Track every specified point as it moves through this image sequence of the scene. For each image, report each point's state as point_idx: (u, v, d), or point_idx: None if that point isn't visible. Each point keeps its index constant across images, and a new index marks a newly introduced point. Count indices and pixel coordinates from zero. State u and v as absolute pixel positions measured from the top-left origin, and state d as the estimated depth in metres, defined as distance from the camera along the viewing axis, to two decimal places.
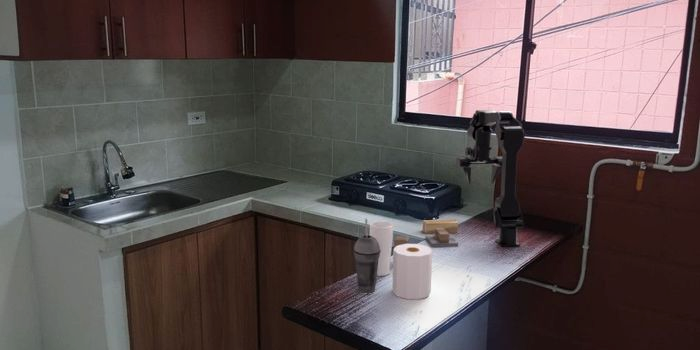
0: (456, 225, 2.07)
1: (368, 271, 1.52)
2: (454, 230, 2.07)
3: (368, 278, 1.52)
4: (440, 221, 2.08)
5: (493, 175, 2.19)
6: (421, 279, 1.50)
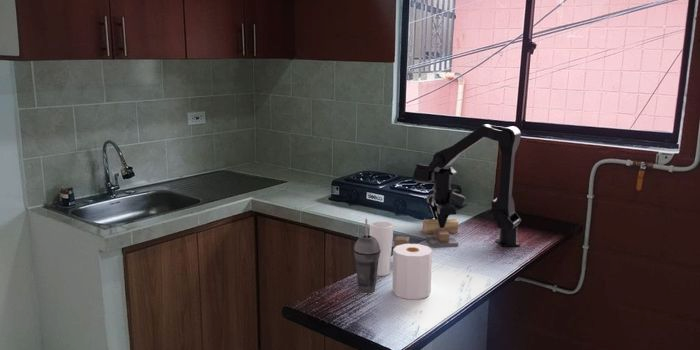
0: (456, 224, 2.07)
1: (368, 271, 1.52)
2: (454, 229, 2.07)
3: (368, 278, 1.52)
4: None
5: None
6: (421, 279, 1.50)
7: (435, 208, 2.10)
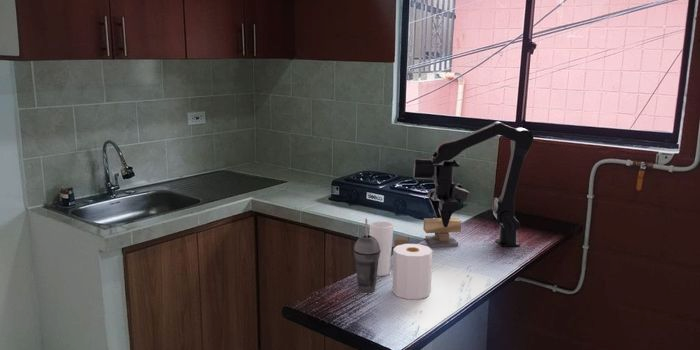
0: (459, 223, 1.94)
1: (368, 271, 1.52)
2: (457, 229, 1.94)
3: (368, 278, 1.52)
4: (441, 219, 1.95)
5: None
6: (421, 279, 1.50)
7: (435, 202, 1.98)
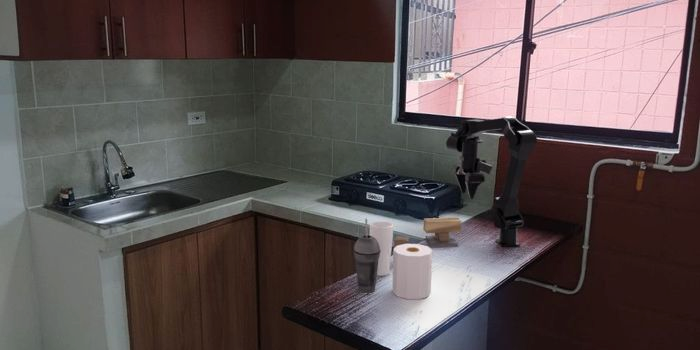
0: (459, 223, 1.94)
1: (368, 271, 1.52)
2: (457, 229, 1.94)
3: (368, 278, 1.52)
4: (441, 219, 1.95)
5: None
6: (421, 279, 1.50)
7: (460, 176, 2.15)
